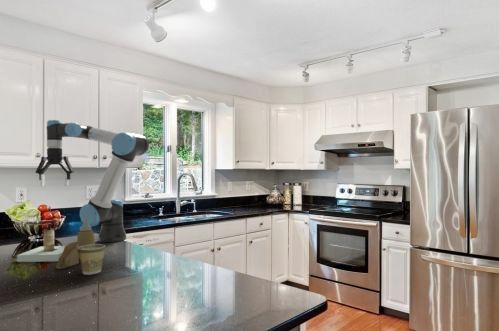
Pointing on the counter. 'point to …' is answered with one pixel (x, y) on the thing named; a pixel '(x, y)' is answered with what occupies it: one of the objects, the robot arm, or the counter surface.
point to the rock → (69, 256)
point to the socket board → (41, 255)
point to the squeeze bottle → (85, 235)
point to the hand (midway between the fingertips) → (54, 185)
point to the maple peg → (49, 241)
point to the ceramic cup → (91, 258)
